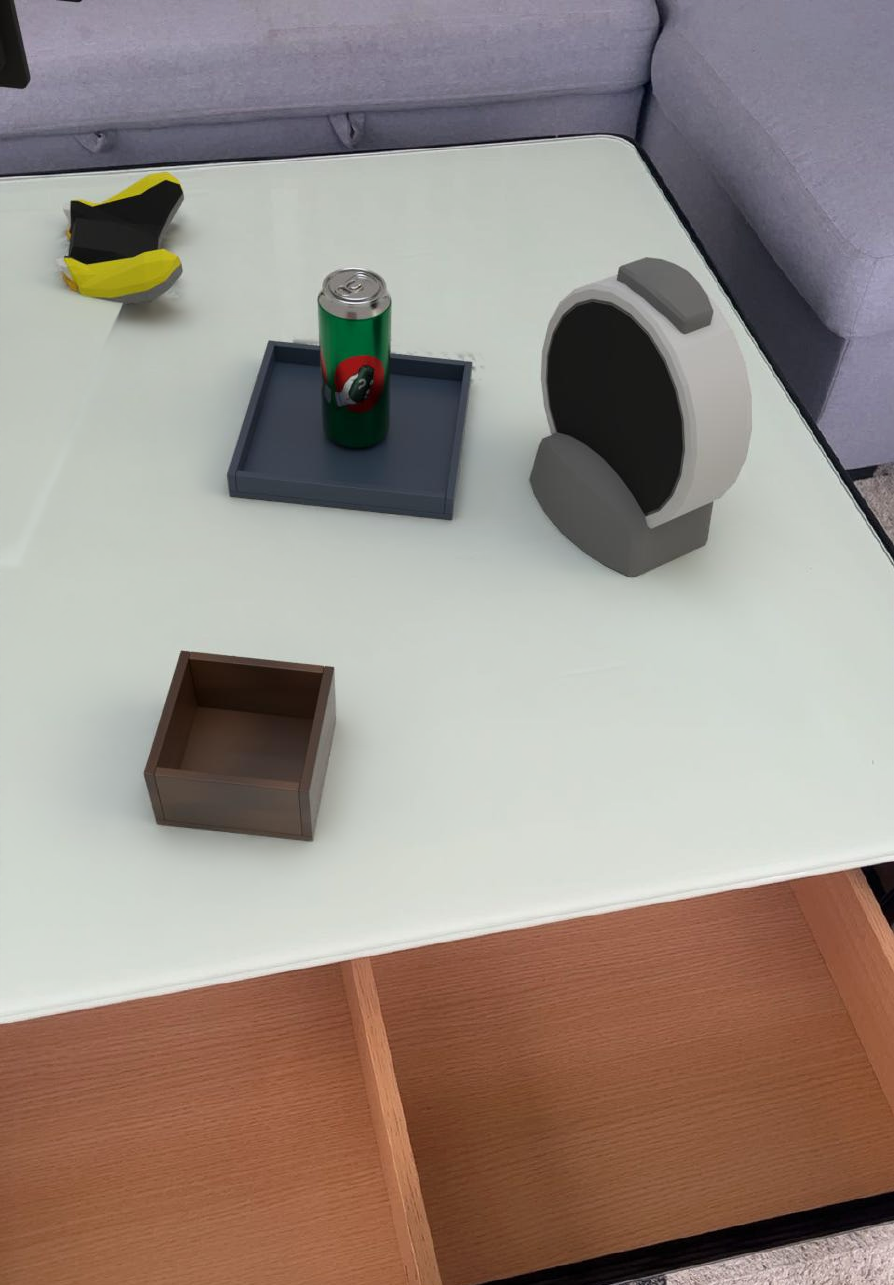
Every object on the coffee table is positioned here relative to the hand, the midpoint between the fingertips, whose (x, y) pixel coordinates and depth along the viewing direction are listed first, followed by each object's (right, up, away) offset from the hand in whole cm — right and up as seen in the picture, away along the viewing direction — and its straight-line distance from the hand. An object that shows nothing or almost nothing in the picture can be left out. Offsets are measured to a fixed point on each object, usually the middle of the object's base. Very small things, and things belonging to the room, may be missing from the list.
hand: (28, 39), depth 60 cm
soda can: (+14, -11, +30) cm, 35 cm away
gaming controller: (-6, +6, +41) cm, 42 cm away
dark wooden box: (+9, -37, +12) cm, 40 cm away
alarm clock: (+34, -17, +27) cm, 47 cm away
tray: (+14, -11, +30) cm, 35 cm away
